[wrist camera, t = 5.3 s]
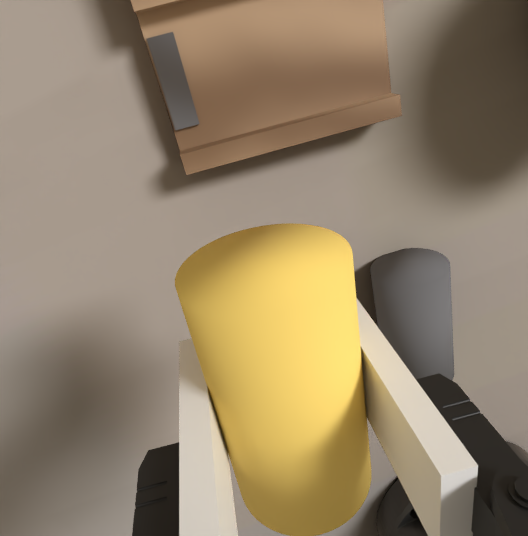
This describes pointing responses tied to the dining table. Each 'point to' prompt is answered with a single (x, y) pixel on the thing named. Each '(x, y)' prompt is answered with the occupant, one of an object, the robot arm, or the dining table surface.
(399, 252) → the gray cylinder
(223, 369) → the yellow foam roll
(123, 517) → the dining table surface
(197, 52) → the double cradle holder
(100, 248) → the dining table surface
